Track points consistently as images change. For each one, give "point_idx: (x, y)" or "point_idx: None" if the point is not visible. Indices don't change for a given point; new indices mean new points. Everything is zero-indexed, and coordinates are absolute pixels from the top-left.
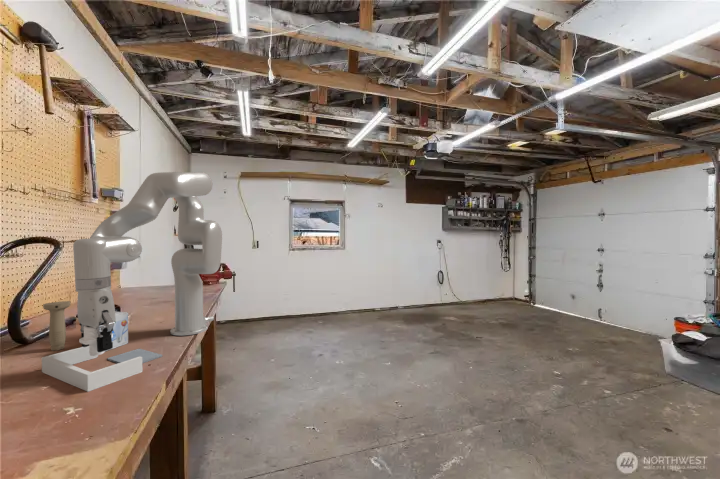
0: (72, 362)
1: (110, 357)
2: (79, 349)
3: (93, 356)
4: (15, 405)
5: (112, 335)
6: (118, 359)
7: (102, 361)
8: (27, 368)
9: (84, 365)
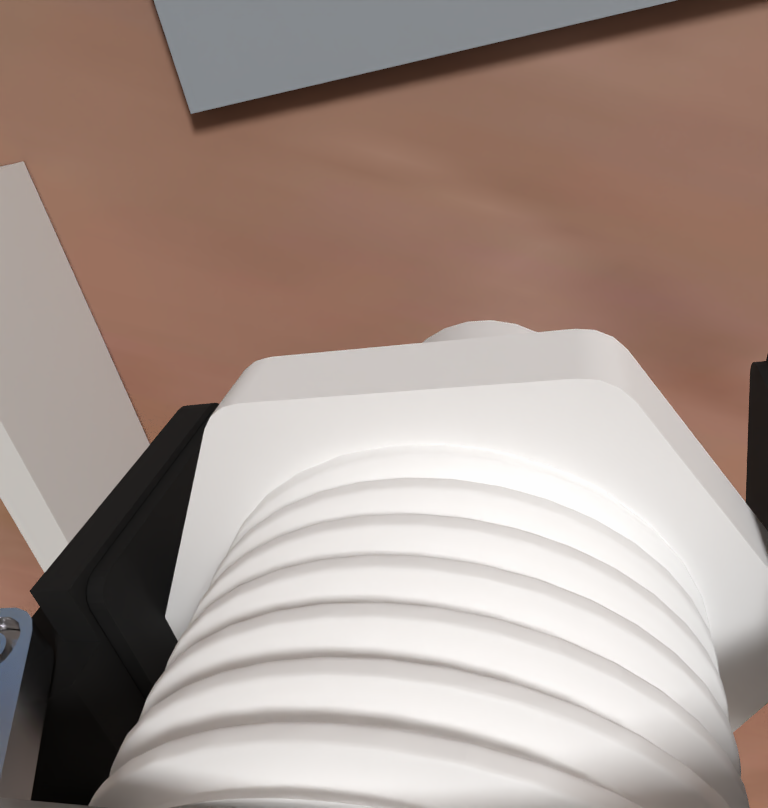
0: (113, 403)
1: (194, 73)
2: (4, 412)
3: (29, 216)
4: (757, 804)
5: (628, 376)
6: (373, 13)
7: (224, 169)
8: (11, 581)
9: (230, 334)
